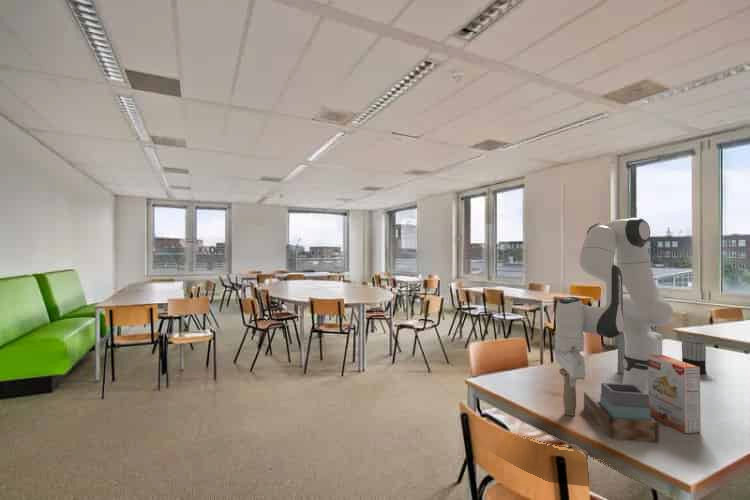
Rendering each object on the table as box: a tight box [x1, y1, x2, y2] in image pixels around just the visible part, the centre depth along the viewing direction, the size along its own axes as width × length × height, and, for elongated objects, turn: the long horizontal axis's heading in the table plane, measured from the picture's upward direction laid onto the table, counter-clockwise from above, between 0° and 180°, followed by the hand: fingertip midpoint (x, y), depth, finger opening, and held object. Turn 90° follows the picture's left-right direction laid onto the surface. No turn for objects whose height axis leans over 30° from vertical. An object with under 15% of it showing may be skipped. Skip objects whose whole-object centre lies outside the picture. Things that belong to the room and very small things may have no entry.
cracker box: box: [648, 354, 702, 435], centre depth 122 cm, size 14×6×21 cm, turn 5°
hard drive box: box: [617, 331, 663, 376], centre depth 171 cm, size 16×8×20 cm, turn 76°
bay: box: [583, 391, 660, 444], centre depth 122 cm, size 13×22×6 cm, turn 169°
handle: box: [559, 367, 577, 417], centre depth 129 cm, size 5×6×15 cm
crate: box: [599, 382, 651, 421], centre depth 117 cm, size 10×10×12 cm
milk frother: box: [681, 337, 707, 375], centre depth 179 cm, size 14×16×15 cm
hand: (569, 383), depth 129 cm, fingers closed on handle, 4 cm apart
